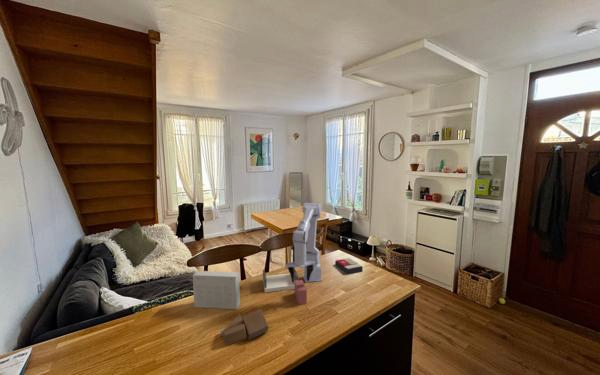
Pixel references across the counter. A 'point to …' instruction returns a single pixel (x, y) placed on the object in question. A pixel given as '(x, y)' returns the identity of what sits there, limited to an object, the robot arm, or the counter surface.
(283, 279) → the grey open rack
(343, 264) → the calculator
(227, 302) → the skincare box
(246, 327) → the wooden block
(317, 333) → the counter surface
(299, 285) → the burgundy book
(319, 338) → the counter surface
